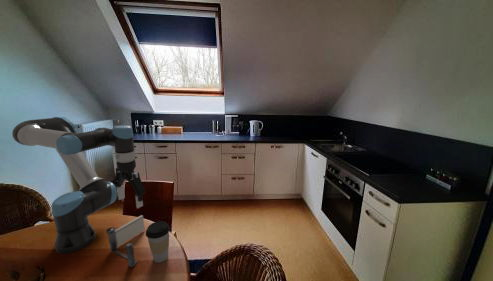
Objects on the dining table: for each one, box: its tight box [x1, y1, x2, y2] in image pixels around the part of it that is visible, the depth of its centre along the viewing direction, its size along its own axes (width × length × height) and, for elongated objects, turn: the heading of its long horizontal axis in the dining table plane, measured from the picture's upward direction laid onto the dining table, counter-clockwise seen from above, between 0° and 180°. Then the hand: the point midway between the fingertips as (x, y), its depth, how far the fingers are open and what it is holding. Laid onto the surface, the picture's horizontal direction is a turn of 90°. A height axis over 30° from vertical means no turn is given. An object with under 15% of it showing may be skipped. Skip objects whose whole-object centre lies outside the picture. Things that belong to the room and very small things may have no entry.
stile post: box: [125, 242, 136, 268], centre depth 88 cm, size 2×2×10 cm
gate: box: [114, 214, 146, 248], centre depth 103 cm, size 14×1×8 cm, turn 152°
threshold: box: [114, 250, 138, 265], centre depth 93 cm, size 14×1×1 cm, turn 62°
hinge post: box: [106, 226, 118, 253], centre depth 96 cm, size 3×3×11 cm
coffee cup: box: [145, 220, 171, 264], centre depth 91 cm, size 9×9×15 cm
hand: (130, 202), depth 102 cm, fingers open, 13 cm apart
